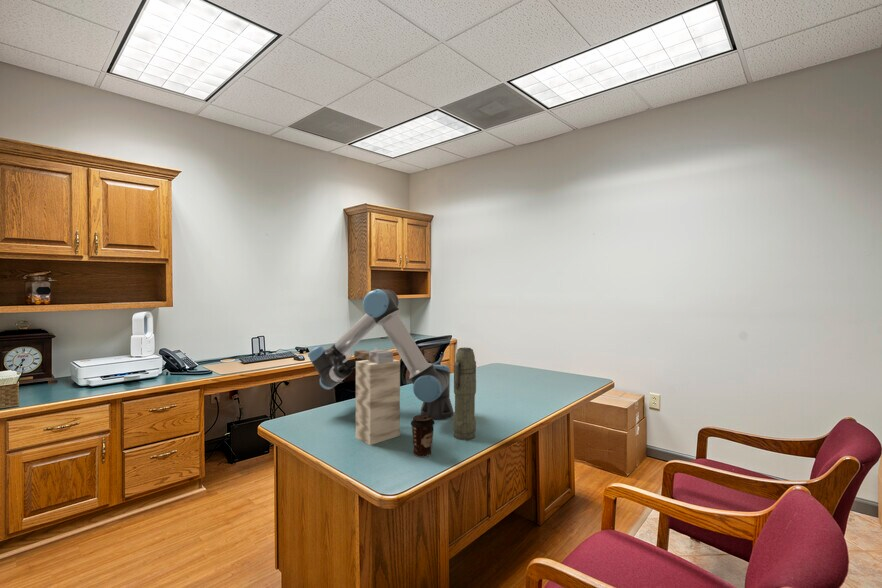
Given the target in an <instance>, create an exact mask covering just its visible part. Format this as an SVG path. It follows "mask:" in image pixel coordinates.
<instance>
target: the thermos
mask: <svg viewBox="0 0 882 588" xmlns="http://www.w3.org/2000/svg"><path fill="white" fill-rule="evenodd" d="M453 393H454V417H453V421H452V422H453V424H452V425H453V427H452V428H453V429H452V430H453V437H454V438H455V439H456V440H460V441H470V440H473V439H475V438H476V430H477V428H476V427H477V420H476V417H475V411H476V410H475V409H476V407H475V405H476V404H475V402H476V401H475V399H476V393H477V362H476V357H475V352H474V349H473V348H471V347H459V348H457V350H456V353H455V362H454V364H453Z"/></svg>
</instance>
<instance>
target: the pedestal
mask: <svg viewBox="0 0 882 588" xmlns="http://www.w3.org/2000/svg"><path fill="white" fill-rule="evenodd" d="M355 362H356V367H355V434H354V435H355V439H357V440H359V441H361V442H364V443H366V444H367V445H369V446H372V445H375V444H378V443H380V442H382V443H383V442H384V441H387V440H390V439H393V438H396V437H400V431H401V429H400V428H401V425H400V424H401V419H400V416H401V414H400V413H401V405H400V404H401V360H399V359H395V358H393V362H387V363H381V364H376V363H372V362H369V360H362V361H356V360H355Z"/></svg>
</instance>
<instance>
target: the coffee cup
mask: <svg viewBox="0 0 882 588" xmlns="http://www.w3.org/2000/svg"><path fill="white" fill-rule="evenodd" d="M432 418H433V417H432V416H431V415H421V414H417V415H414V416H413V418H412V420H411V422H410V425H411V431H412V432H411V433H412V440H413V441H412V444H413V451H412V454H413V455H414V456H416V457H419V458H423V457H424V458H425V457H428V456H430V455H432V446H433V440H434V439H433V437H434V429H435V428H434V425H435V423H436V421H435V419H432Z"/></svg>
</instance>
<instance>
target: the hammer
mask: <svg viewBox="0 0 882 588" xmlns="http://www.w3.org/2000/svg"><path fill="white" fill-rule="evenodd" d="M353 353H354V354H353V356H354V358H361V359H365V360H369V362H372V363H376V364H381V363H387V362H393V359H394V351H392V350H388V349H379V350H377V351H372V350H370V351H369V350H364V349H359V350H354V351H353Z"/></svg>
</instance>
